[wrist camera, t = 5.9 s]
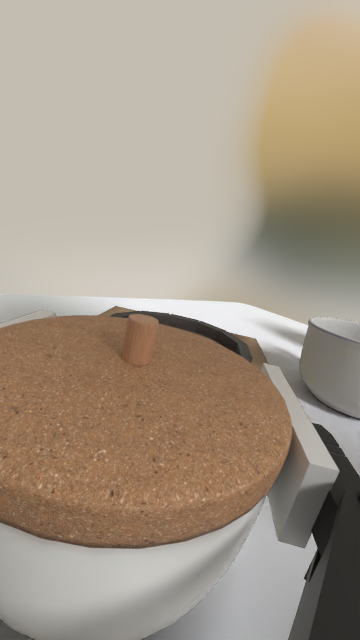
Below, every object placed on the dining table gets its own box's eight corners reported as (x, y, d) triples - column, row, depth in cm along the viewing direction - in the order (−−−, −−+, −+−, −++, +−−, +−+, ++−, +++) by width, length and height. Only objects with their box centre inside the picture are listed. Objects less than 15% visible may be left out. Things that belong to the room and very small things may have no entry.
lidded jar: (14, 434, 15) (23, 268, 13) (194, 439, 18) (230, 304, 15) (-199, 825, 5) (-351, 400, 3) (285, 706, 8) (430, 436, 5)
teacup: (417, 457, 21) (466, 366, 19) (279, 397, 26) (305, 319, 24) (389, 393, 33) (417, 333, 31) (297, 360, 38) (317, 306, 36)
